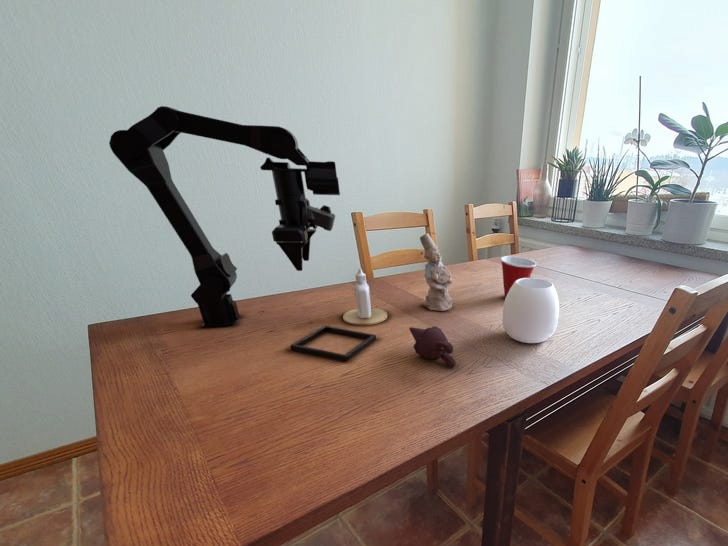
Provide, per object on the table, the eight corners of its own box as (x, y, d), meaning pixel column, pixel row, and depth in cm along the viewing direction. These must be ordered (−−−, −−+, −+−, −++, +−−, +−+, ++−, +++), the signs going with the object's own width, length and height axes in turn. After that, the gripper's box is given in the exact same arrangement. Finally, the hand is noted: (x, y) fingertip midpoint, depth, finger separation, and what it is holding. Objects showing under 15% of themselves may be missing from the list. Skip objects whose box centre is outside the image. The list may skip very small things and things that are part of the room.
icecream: (392, 322, 78) (436, 354, 70) (420, 307, 82) (465, 336, 73) (399, 348, 83) (441, 380, 74) (426, 332, 86) (468, 362, 78)
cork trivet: (343, 326, 90) (343, 325, 90) (343, 310, 99) (342, 308, 99) (389, 323, 94) (389, 321, 93) (385, 308, 103) (385, 306, 102)
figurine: (416, 304, 106) (414, 231, 97) (441, 299, 111) (441, 229, 102) (434, 314, 100) (434, 238, 91) (459, 308, 105) (461, 235, 96)
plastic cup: (534, 305, 111) (539, 265, 105) (497, 303, 111) (501, 263, 105) (530, 293, 121) (534, 256, 115) (497, 291, 120) (499, 254, 115)
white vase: (565, 337, 91) (574, 284, 85) (533, 354, 83) (541, 296, 76) (522, 321, 99) (528, 271, 93) (489, 335, 90) (493, 281, 84)
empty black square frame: (291, 350, 79) (290, 345, 78) (325, 330, 88) (325, 325, 88) (346, 361, 75) (345, 356, 75) (376, 339, 85) (375, 334, 85)
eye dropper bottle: (351, 318, 94) (345, 270, 88) (361, 310, 99) (357, 265, 93) (367, 320, 94) (363, 272, 88) (377, 312, 98) (373, 267, 93)
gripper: (324, 200, 75) (334, 276, 83) (334, 191, 91) (342, 256, 99) (263, 198, 73) (280, 276, 80) (284, 190, 89) (296, 256, 96)
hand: (303, 265), depth 89 cm, fingers open, 9 cm apart
